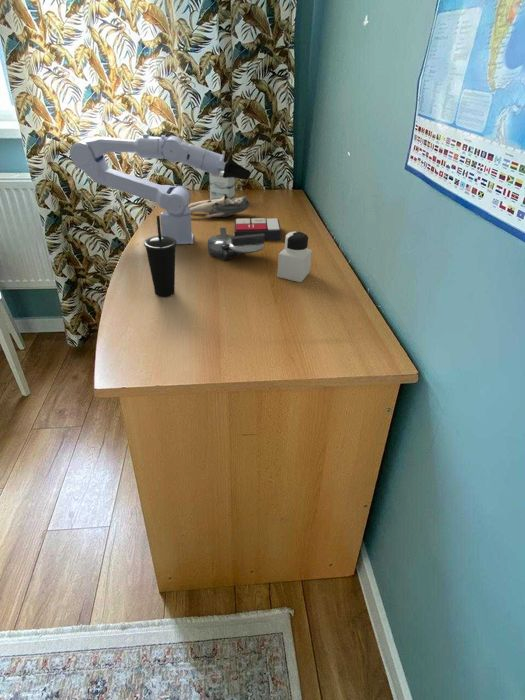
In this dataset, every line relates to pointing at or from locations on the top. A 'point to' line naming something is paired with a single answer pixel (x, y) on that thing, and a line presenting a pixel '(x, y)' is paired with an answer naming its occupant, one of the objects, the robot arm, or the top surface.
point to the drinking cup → (162, 262)
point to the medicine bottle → (295, 257)
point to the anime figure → (220, 206)
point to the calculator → (258, 227)
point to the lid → (245, 243)
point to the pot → (216, 243)
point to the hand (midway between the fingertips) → (249, 175)
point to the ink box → (221, 186)
